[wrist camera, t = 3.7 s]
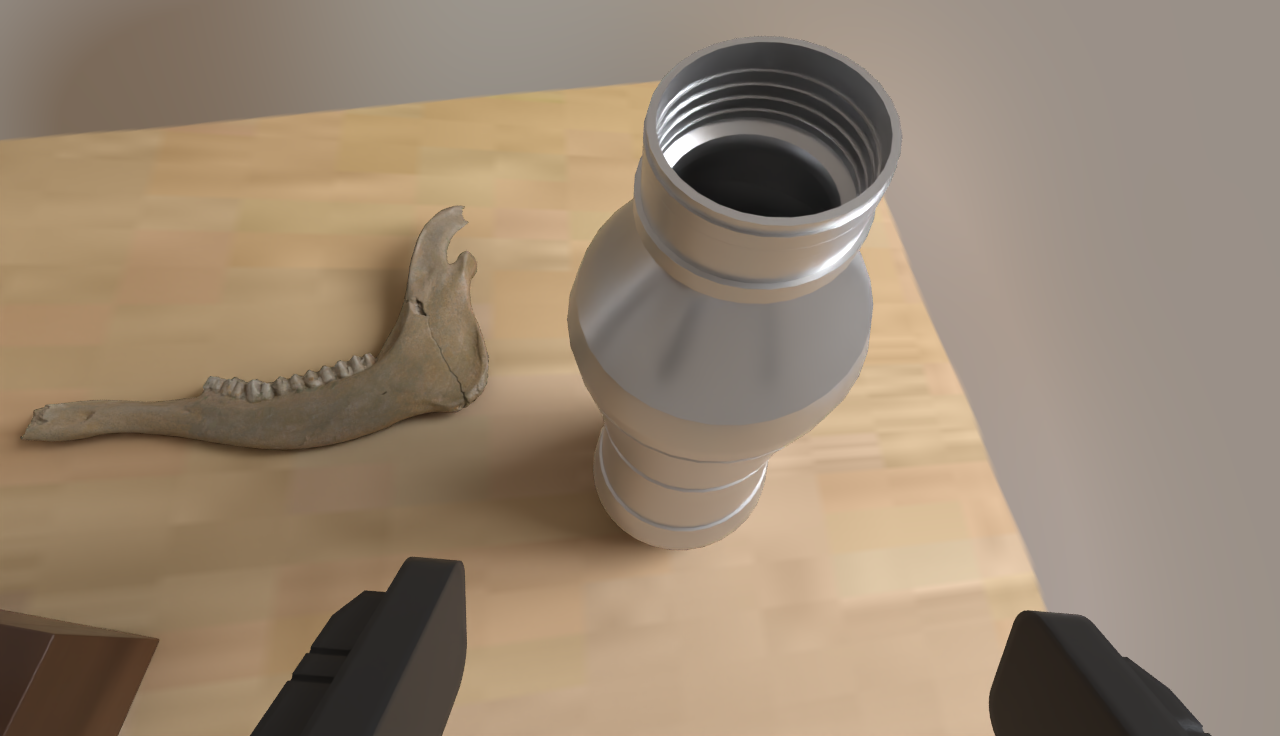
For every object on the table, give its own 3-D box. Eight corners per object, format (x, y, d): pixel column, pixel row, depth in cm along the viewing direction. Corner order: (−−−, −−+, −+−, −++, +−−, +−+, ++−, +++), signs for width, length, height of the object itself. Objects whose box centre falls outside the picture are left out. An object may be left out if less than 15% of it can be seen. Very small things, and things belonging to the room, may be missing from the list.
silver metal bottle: (782, 514, 27) (1116, 206, 9) (636, 590, 26) (670, 414, 7) (707, 385, 29) (846, -72, 11) (569, 448, 28) (468, 47, 10)
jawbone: (557, 365, 30) (554, 349, 28) (100, 621, 25) (59, 622, 23) (466, 220, 32) (457, 195, 30) (32, 429, 28) (-10, 416, 26)
